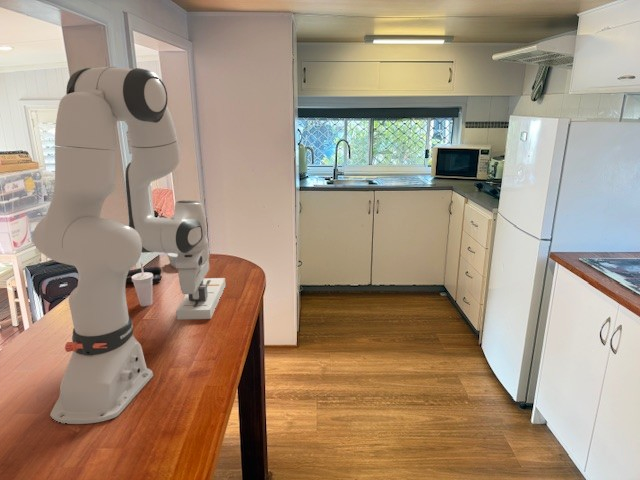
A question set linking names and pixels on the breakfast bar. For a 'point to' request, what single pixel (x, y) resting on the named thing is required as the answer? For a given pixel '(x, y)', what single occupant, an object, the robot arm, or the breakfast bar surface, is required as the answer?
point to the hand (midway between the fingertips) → (198, 295)
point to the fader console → (202, 307)
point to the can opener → (154, 270)
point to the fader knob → (203, 294)
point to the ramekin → (172, 258)
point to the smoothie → (143, 286)
